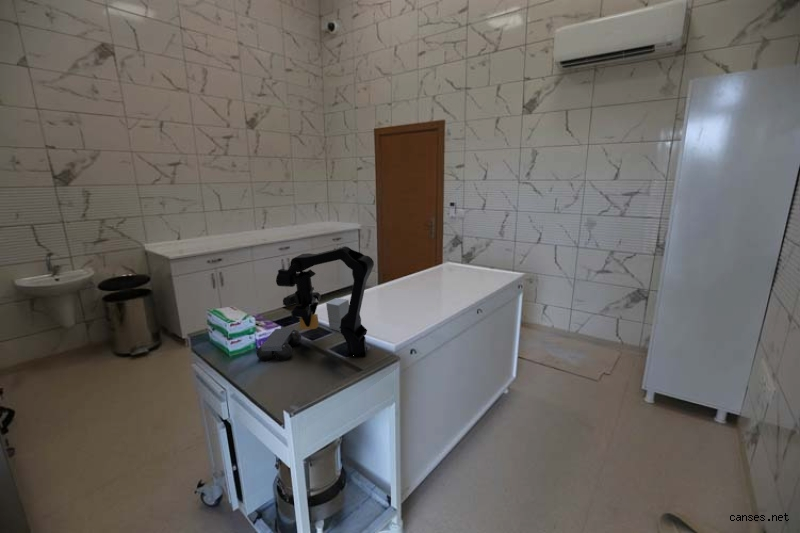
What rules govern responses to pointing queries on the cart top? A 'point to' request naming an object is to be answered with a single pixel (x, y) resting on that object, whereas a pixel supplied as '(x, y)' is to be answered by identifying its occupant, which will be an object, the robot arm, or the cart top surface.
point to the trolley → (279, 344)
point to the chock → (313, 322)
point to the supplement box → (337, 312)
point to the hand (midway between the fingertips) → (309, 324)
